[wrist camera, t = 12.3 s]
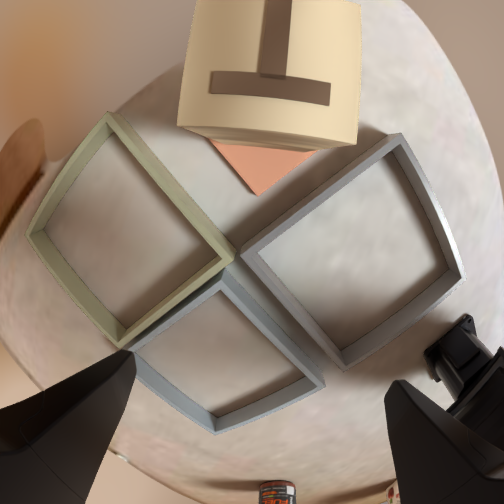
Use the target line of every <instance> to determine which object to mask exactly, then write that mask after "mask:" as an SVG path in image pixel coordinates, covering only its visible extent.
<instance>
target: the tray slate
mask: <svg viewBox="0 0 504 504" xmlns="http://www.w3.org/2000/svg"><path fill="white" fill-rule="evenodd" d="M220 289H221V291H222V292H223V293H224V294H225V295H226V296H227V297H228V298H229V299H230V300H231V301H232V302H233V303H234V304H235V305H236V306H237V307H238V308H239V309H240V311H241V312H242V313H243V314H244V315H245V316H246V317H247V318H248V319H249V320H250V321H251V322H252V323H253V324H254V325H255V326H256V327H257V328H258V329H259V330H260V331H261V332H262V333H263V334H264V335H265V336H266V337H267V338H268V339H269V340H270V341H271V342H272V343H273V344H274V345H275V346H276V347H277V348H278V349H279V350H280V351H281V352H282V353H283V354H284V355H285V356H286V357H287V358H288V359H289V360H290V361H291V362H292V363H293V364H294V365H295V366H296V367H297V368H298V369H300V370H301V371H302V372H303V373H304V374H305V375H306V376H305V377H304V378H302V379H300V380H298V381H296V382H294V383H292V384H291V385H289V386H287V387H285V388H283V389H281V390H279V391H277V392H275V393H273V394H271V395H269V396H267V397H265V398H263V399H260V400H258V401H256V402H254V403H252V404H250V405H247V406H245V407H243V408H240V409H238V410H236V411H234V412H231V413H229V414H226V415H224V416H221V417H219V418H217V417H215V416H214V415H212V414H211V413H209V412H208V411H206V410H205V409H204V408H202V407H201V406H199V405H198V404H197V403H195V402H194V401H193V400H191V399H190V398H189V397H187V396H186V395H185V394H183V393H182V392H181V391H180V390H178V389H177V388H176V387H174V386H173V385H172V384H171V383H169V382H168V381H167V380H166V379H165V378H163V377H162V376H161V375H160V374H159V373H157V372H156V371H155V370H154V369H153V368H152V367H150V366H149V365H148V364H147V363H146V362H145V361H144V360H143V359H141V358H140V357H139V356H138V355H137V354H136V353H135V351H137V350H138V349H139V348H141V347H142V346H144V345H145V344H146V343H148V342H149V341H151V340H152V339H153V338H155V337H156V336H157V335H159V334H160V333H162V332H163V331H164V330H166V329H167V328H168V327H170V326H171V325H173V324H174V323H175V322H177V321H178V320H179V319H181V318H182V317H184V316H185V315H186V314H188V313H189V312H190V311H192V310H193V309H195V308H196V307H197V306H199V305H200V304H201V303H203V302H204V301H205V300H207V299H208V298H210V297H211V296H212V295H214V294H215V293H216V292H218V291H219V290H220ZM122 349H125V350H129V351H132V352H133V353H134V355H135V361H136V367H137V373H136V377H135V378H137V379H138V380H139V381H140V382H141V383H142V384H144V385H145V386H146V387H147V388H149V389H150V390H151V391H152V392H154V393H155V394H156V395H157V396H159V397H160V398H161V399H163V400H164V401H165V402H167V403H168V404H169V405H171V406H172V407H173V408H175V409H176V410H177V411H179V412H180V413H182V414H183V415H185V416H186V417H187V418H189V419H190V420H192V421H193V422H195V423H196V424H198V425H199V426H201V427H202V428H204V429H206V430H207V431H209V432H210V433H212V434H213V435H218V434H221V433H224V432H227V431H229V430H232V429H235V428H237V427H240V426H243V425H245V424H248V423H250V422H253V421H255V420H258V419H260V418H262V417H265V416H267V415H269V414H272V413H274V412H276V411H278V410H281V409H283V408H285V407H287V406H289V405H291V404H293V403H295V402H298V401H300V400H302V399H304V398H306V397H308V396H309V395H311V394H313V393H315V392H317V391H319V390H321V389H323V388H325V387H326V386H325V382H324V377H323V373H322V371H321V370H320V369H319V368H318V367H317V366H316V365H315V364H314V363H313V362H312V361H311V360H310V359H309V358H308V357H307V356H306V354H305V353H304V352H303V351H302V350H301V349H300V348H299V347H298V346H297V345H296V344H295V343H294V342H293V341H292V340H291V339H290V338H289V337H288V336H287V335H286V334H285V333H284V331H283V330H282V329H281V328H280V327H279V326H278V325H277V324H276V323H275V322H274V321H273V320H272V319H271V318H270V317H269V316H268V314H267V313H266V312H265V311H264V310H263V309H262V308H261V307H260V306H259V305H258V304H257V303H256V302H255V300H254V299H253V298H252V297H251V296H250V295H249V294H248V293H247V292H246V291H245V290H244V288H243V287H242V286H241V285H240V284H239V283H238V282H237V281H236V280H235V279H234V277H233V276H232V275H231V274H230V273H229V272H228V271H227V270H226V269H225V268H224V269H223V270H222V271H220V272H219V273H218V274H216V275H215V276H214V277H212V278H211V279H210V280H209V281H207V282H206V283H205V284H203V285H202V286H201V287H199V288H198V289H197V290H196V291H194V292H193V293H192V294H190V295H189V296H188V297H186V298H185V299H184V300H183V301H181V302H180V303H179V304H177V305H176V306H175V307H174V308H172V309H171V310H170V311H168V312H167V313H166V314H164V315H163V316H162V317H161V318H159V319H158V320H157V321H155V322H154V323H153V324H152V325H150V326H149V327H148V328H146V329H145V330H144V331H143V332H141V333H140V334H139V335H137V336H136V337H135V338H133V339H132V340H131V341H130V342H128V343H127V344H126V345H124V346H123V348H122Z"/></svg>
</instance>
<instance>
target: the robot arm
mask: <svg viewBox="0 0 504 504" xmlns="http://www.w3.org/2000/svg"><path fill="white" fill-rule="evenodd" d="M424 357H425V360H426V362H427V364H428V366H429V368H430V371H431V373H432V375H433V378H434V380H435V381H436V382H439V381H441V380H442V382H443V383H444V385H445V386H446V388H447V389H448V391H449V393H450V394H451V396H452V398H453V399H454V401H455V402H454V403H453V404H452V405H451V406H450V407H449V408H448V409H447V410H446V411H445V410H444V409H442V408H441V407H440V406H438V405H437V404H436V403H435V402H433V401H432V400H431V399H429V398H428V397H427V396H425V395H424V394H423V393H422V392H420V391H419V390H418V389H416V388H415V387H414V386H412V385H411V384H410V383H409V382H407V381H406V380H395V381H394V382H393V383H392V384H391V386H390V388H389V390H388V391H387V393H386V395H385V398H384V404H385V412H386V420H387V429H388V436H389V441H390V446H391V451H392V456H393V461H394V466H395V472H396V477H397V483H398V490H399V496H400V504H504V348H503V347H501V346H500V347H499V349H498V350H497V353H496V354H495V355H494V356H493V354H492V353H491V352H490V351H489V350H488V349H487V348H486V347H485V345H484V344H483V343H482V342H481V341H480V340H479V339H478V338H477V335H476V330H475V325H474V320H473V317H472V316H471V315H468V316H466V317H465V318H464V319H463V320H462V321H461V322H460V323H459V324H458V325H456V326H455V327H454V328H453V329H452V330H451V331H449V332H448V333H447V334H446V335H445V336H443V337H442V338H441V339H440V340H439V341H437V342H436V343H435V344H434V345H432V346H431V347H430V348H428V349H427V350H426V351H425V352H424ZM136 373H137V367H136V361H135V355H134V353H133V352H132V351H129V350H125V349H121V350H119V351H117V352H115V353H113V354H112V355H110V356H108V357H106V358H104V359H102V360H100V361H99V362H97V363H95V364H93V365H91V366H89V367H87V368H86V369H84V370H82V371H80V372H78V373H76V374H74V375H72V376H70V377H69V378H67V379H65V380H63V381H61V382H59V383H57V384H55V385H53V386H51V387H49V388H47V389H45V391H41V392H39V393H37V394H36V395H33V396H31V397H29V398H27V399H25V400H23V401H20V402H18V403H15V404H13V405H10V406H7V407H4V408H1V409H0V504H85V501H86V499H87V497H88V494H89V492H90V489H91V487H92V484H93V482H94V479H95V477H96V474H97V472H98V469H99V467H100V465H101V462H102V460H103V458H104V455H105V453H106V451H107V448H108V446H109V444H110V442H111V439H112V437H113V435H114V433H115V430H116V428H117V426H118V424H119V422H120V419H121V417H122V415H123V413H124V410H125V407H126V404H127V401H128V398H129V395H130V392H131V389H132V386H133V383H134V380H135V377H136Z"/></svg>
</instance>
